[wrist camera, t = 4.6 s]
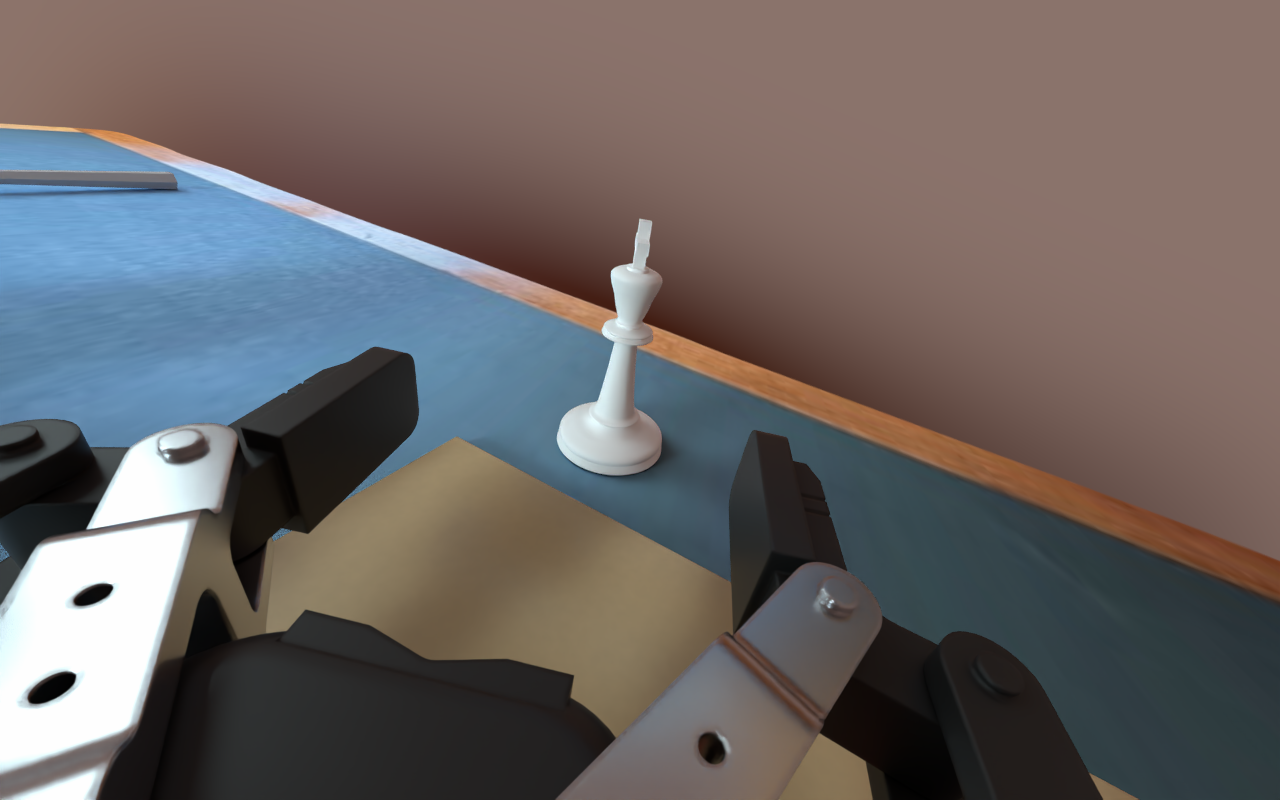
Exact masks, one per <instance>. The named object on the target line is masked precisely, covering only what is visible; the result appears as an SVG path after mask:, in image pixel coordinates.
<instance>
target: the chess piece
mask: <svg viewBox="0 0 1280 800" xmlns="http://www.w3.org/2000/svg"><path fill="white" fill-rule="evenodd" d="M651 227H652V221H650V220H644V219H640V221H639V227H638V233H636V239H635V253H634V259H633V264H628V265H620V266H618V267H616V268H614V269H613V270H612V272H611V281H612V286H613V289H614V294H615V304H616V308H617V314H618V317H617V318H616V319H611V320H608V321H607V322H605V324H604V326H603V328H602V333H603V335H604V336H605V337H606V338H608V339H610V340H611V341H614V342H615V343H614V347H613V350H612V354H611V358H610V362H609V366H608V369H607V373H606V376H605V380H604V383H603V386H602V390H601V393H600V396H599V399H598V401H596V402H592V403H586V404H583V405H580V406H577V407H575V408H573V409H572V410H570V411H569V412H568V413H566V414H565V416H564V417H563V418H562V420H561V423H560V428H559V430H558V434H557V443H558V446H559V448H560V450H561V451H562V453H563V454H564V455H565V456H566V457H567V458H568V459H569V460H570V461H571V462H573V463H574V464H576V465H578V466H580V467H582V468H584V469H586V470H589V471H592V472H595V473H599V474H605V475H630V474H635V473H638V472H641V471H644V470H646V469H648V468H649V467H651V466H652V465H653V464H654V463H655V462H656V461H657V460H658V458H659V457H660V454H661V443H662V435H661V431H660V429H659V427H658V425H657V424H656V423H655V422H654V421H653V420H652V419H651V418H650V417H649V416H648V415H646V414H645V413H643V412H642V411H640V410H638V409H636V408H635V407H634V383H635V364H636V353H637V346H640V345H646V344H648V343H650V342H651V341H652V340H653V335H652V334H653V332H652V329H651V328H650V327H649V326H647V325H646V324H644V323H643V322H642V320H643V318H644V317H645V315H646V313H647V312H648V310H649V307H650V305H651V303H652V301H653V299H654V298H655V296H656V295H657V293H658V291H659V289H660V287H661V285H662V282H663V281H662V277H661V276H660V275H659V274H658V273H657V272H656V271H654V270H651V269H650V268H649V267H647V266H645V262H646V257H648V254H649V248H650V243H649V239H650V233H651Z"/></svg>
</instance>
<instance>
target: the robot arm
mask: <svg viewBox="0 0 1280 800" xmlns="http://www.w3.org/2000/svg"><path fill="white" fill-rule="evenodd" d="M418 416H419V406H418V395H417V385H416V374H415V364H414V360H413V358H412V356H411V355H410V354H408V353H403V352H399V351H394V350H390V349H385V348H380V347H373V348H370V349H369V350H367V351H365V352H364V353H362V354H360V355H359V356H357V357H356V358H354V359H352V360H351V361H349V362H346V363H343V364H340V365H337V366H334V367H330V368H327V369H324V370H322V371H320V372H318V373H317V374H315V375H313V376H312V377H310V378H308V379H307V380H305V381H304V383H303V384H298V385H296V386H295V387H293V388H291V389H289V390H288V392H287V394H286V393H283V394H281V395H279V396H278V397H276V398H274V399H272V400H271V401H269V402H267V403H266V404H264V405H262V406H261V407H259V408H257V409H255V410H254V411H252V412H250V413H249V414H247V415H245V416H244V417H242V418H240V419H238V420H237V421H235V422H233V423H232V424H230V425H228V426H225V425H221V424H214V423H197V424H188V425H182V426H177V427H173V428H169V429H165V430H162V431H160V432H157V433H154V434H152V435H150V436H147V437H146V438H144V439H142V440H140V441H139V442H137V443H136V444H134V445H133V446H132V447H131V448H121V447H89V445H88V443H87V441H86V439H85V437H84V436H83V434H82V432H81V430H80V428H79V427H78V426H77V425H76V424H74V423H72V422H69V421H65V420H58V419H37V420H27V421H21V422H14V423H10V424H5V425H1V426H0V543H1V544H2V546H3V547H4V548H5V550H6V551H7V552H8V554H9V555H10V557H8V558H6V559H5V560H3V561H2V562H0V800H779V798H780V796H781V795H782V793H783V791H784V790H785V788H786V787H787V785H788V783H789V782H790V780H791V778H792V777H793V775H794V774H795V772H796V770H797V769H798V767H799V765H800V764H801V762H802V760H803V759H804V757H805V756H806V754H807V752H808V751H809V749H810V747H811V746H812V744H813V742H814V741H815V739H816V738H817V736H818V734H819V733H820V734H821V735H823V736H825V737H826V738H828V739H830V740H831V741H833V742H835V743H836V744H838V745H840V746H841V747H843V748H845V749H846V750H848V751H849V752H851V753H853V754H854V755H856V756H858V757H859V758H861V759H863V760H864V761H866V767H867V772H868V777H869V782H870V788H871V793H872V798H873V800H1103V798H1102V796H1101V794H1100V792H1099V791H1098V789H1097V787H1096V785H1095V783H1094V781H1093V779H1092V778H1091V776H1090V774H1089V772H1088V770H1087V768H1086V767H1085V765H1084V763H1083V761H1082V759H1081V757H1080V755H1079V754H1078V752H1077V750H1076V748H1075V746H1074V744H1073V742H1072V741H1071V739H1070V737H1069V735H1068V733H1067V731H1066V730H1065V728H1064V726H1063V724H1062V722H1061V720H1060V718H1059V717H1058V715H1057V713H1056V711H1055V709H1054V707H1053V706H1052V704H1051V702H1050V700H1049V698H1048V696H1047V694H1046V693H1045V691H1044V689H1043V688H1042V686H1041V684H1040V683H1039V682H1038V680H1037V679H1036V678H1035V676H1034V675H1033V674H1032V673H1031V672H1030V671H1029V670H1028V668H1027V667H1026V666H1025V665H1024V664H1022V663H1021V662H1020V661H1019V660H1018V659H1017V658H1016V657H1015V656H1013V655H1012V654H1011V653H1010V652H1008V651H1007V650H1006V649H1004V648H1003V647H1001V646H1000V645H998V644H996V643H994V642H993V641H991V640H989V639H987V638H985V637H982V636H980V635H977V634H974V633H969V632H961V631H958V632H952V633H950V634H948V635H947V636H946V637H944V638H943V640H942V641H941V642H940V643H939V644H938V645H937V644H935V643H933V642H931V641H929V640H927V639H925V638H923V637H921V636H919V635H917V634H915V633H913V632H911V631H909V630H907V629H905V628H903V627H901V626H899V625H897V624H895V623H893V622H891V621H890V620H888V619H886V618H885V617H884V616H882V613H881V610H880V606H879V604H878V602H877V600H876V599H875V597H874V596H873V594H872V593H871V592H870V590H869V589H868V588H867V587H866V586H865V585H864V584H863V583H862V582H861V581H860V580H859V579H857V578H856V577H855V576H853V575H852V574H850V573H849V572H847V569H846V565H845V562H844V559H843V555H842V552H841V549H840V545H839V542H838V539H837V536H836V532H835V529H834V526H833V522H832V519H831V517H829V515H830V512H829V509H828V506H827V502H825V496H824V492H823V489H822V486H821V482H820V480H819V479H818V478H817V477H816V475H815V474H814V473H813V472H812V471H811V469H810V468H809V467H808V466H807V464H804V463H799V462H795V461H793V459H792V455H791V450H790V446H789V442H788V439H787V437H784V436H779V435H775V434H770V433H765V432H761V431H756V430H753V431H752V432H751V434H750V436H749V439H748V442H747V444H746V447H745V450H744V453H743V456H742V459H741V462H740V464H739V467H738V470H737V473H736V476H735V479H734V482H733V485H732V489H731V494H730V500H729V529H730V559H731V590H732V620H733V635H731V634H730V633H729V632H724V633H723V634H721V635H720V636H719V637H717V638H716V639H715V640H714V641H713V642H712V643H711V644H710V645H709V646H708V647H707V648H706V649H705V650H704V651H703V652H702V653H701V654H700V655H699V656H698V657H697V658H696V659H695V660H694V661H693V662H692V663H691V664H690V665H689V666H688V667H687V668H686V669H685V670H684V671H683V672H682V673H681V674H680V675H679V676H678V677H677V678H676V679H675V680H674V681H673V682H672V683H671V684H670V685H669V686H668V687H667V688H666V689H665V690H664V691H663V692H662V693H661V694H660V695H659V696H658V697H657V698H656V699H655V700H654V701H653V702H652V703H651V704H650V705H649V706H648V707H647V708H646V709H645V710H644V711H643V712H642V713H641V714H640V715H639V716H638V717H637V718H636V719H635V720H634V721H633V722H632V723H631V724H630V725H629V726H628V727H627V728H626V729H625V730H624V731H623V732H622V733H621V734H620V735H619V736H618V737H617V738H616V737H615V736H614V734H613V733H612V732H611V730H610V729H609V728H608V727H607V726H606V725H605V724H604V723H603V722H602V721H601V720H600V719H599V718H598V717H597V716H596V715H595V714H594V713H593V712H591V711H590V710H589V709H588V708H586V707H585V706H584V705H582V704H581V703H579V702H577V701H576V700H574V699H572V698H571V692H572V686H573V680H574V675H572V674H568V673H564V672H560V671H555V670H551V669H547V668H543V667H539V666H535V665H531V664H527V663H523V662H519V661H515V660H511V659H467V660H430V659H426V658H424V657H422V656H420V655H418V654H417V653H415V652H413V651H412V650H410V649H409V648H407V647H405V646H404V645H402V644H400V643H399V642H397V641H395V640H394V639H392V638H391V637H389V636H387V635H386V634H384V633H382V632H381V631H379V630H377V629H376V628H374V627H372V626H371V625H368V624H363V623H359V622H355V621H351V620H347V619H343V618H339V617H335V616H331V615H327V614H323V613H318V612H314V611H310V610H306V609H305V611H304V612H303V613H302V614H301V615H300V616H299V617H298V619H297V620H296V621H295V622H294V623H293V624H292V625H291V627H290V628H289V629H288V630H287V631H281V632H273V633H266V622H267V613H268V604H269V595H270V586H271V577H272V568H273V559H274V550H275V547H274V542H273V539H272V536H273V535H274V534H275V533H276V532H277V531H278V530H279V529H281V528H284V529H288V530H292V531H297V532H301V533H305V534H309V533H310V532H311V531H312V530H313V529H314V528H315V527H316V526H317V525H318V524H319V523H320V522H321V521H323V520H324V519H325V518H326V517H327V516H328V515H329V514H330V513H331V512H332V511H333V510H334V509H335V508H336V507H337V506H338V505H339V504H340V503H341V502H342V501H343V500H344V499H345V498H346V497H347V496H348V495H349V494H350V493H351V492H352V491H353V490H355V489H356V488H357V487H358V486H359V485H360V484H361V483H362V482H363V481H364V480H365V479H366V478H367V477H368V476H369V475H370V474H371V473H372V472H373V471H374V470H375V469H376V468H377V467H378V466H379V465H380V464H381V463H382V462H383V461H384V460H385V459H386V458H388V457H389V456H390V455H391V454H392V453H393V452H394V451H395V450H396V449H397V448H398V447H399V446H400V445H401V444H402V443H403V442H404V441H405V440H406V439H407V438H408V437H409V436H410V435H411V434H412V432H413V431H414V429H415V427H416V424H417V421H418Z"/></svg>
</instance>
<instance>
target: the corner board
mask: <svg viewBox="0 0 1280 800" xmlns="http://www.w3.org/2000/svg"><path fill="white" fill-rule="evenodd" d="M274 547H275V550H274V559H273V568H272V577H271V586H270V595H269V604H268V613H267V622H266V633H273V632H281V631H287V630H288V629H289V628H290V627H291V625H292V624H293V623H294V622H295V621H296V620H297V619H298V617H299V616H300V615H301V614H302V613H303V612H304V611H305V609H306V610H310V611H314V612H318V613H323V614H327V615H331V616H335V617H339V618H343V619H347V620H351V621H355V622H359V623H363V624H368V625H371V626H372V627H374V628H376V629H377V630H379V631H381V632H382V633H384V634H386V635H387V636H389V637H391V638H392V639H394V640H395V641H397V642H399V643H400V644H402V645H404V646H405V647H407V648H409V649H410V650H412V651H413V652H415V653H417V654H418V655H420V656H422V657H424V658H426V659H430V660H467V659H511V660H515V661H519V662H523V663H527V664H531V665H535V666H539V667H543V668H547V669H551V670H555V671H560V672H564V673H568V674H572V675H574V680H573V686H572V692H571V698H572V699H574V700H576V701H577V702H579V703H581V704H582V705H584V706H585V707H586V708H588V709H589V710H590V711H591V712H593V713H594V714H595V715H596V716H597V717H598V718H599V719H600V720H601V721H602V722H603V723H604V724H605V725H606V726H607V727H608V728H609V729H610V730H611V732H612V733H613V734H614V736H615V737H616V738H617V737H618V736H619V735H620V734H621V733H622V732H623V731H624V730H625V729H626V728H627V727H628V726H629V725H630V724H631V723H632V722H633V721H634V720H635V719H636V718H637V717H638V716H639V715H640V714H641V713H642V712H643V711H644V710H645V709H646V708H647V707H648V706H649V705H650V704H651V703H652V702H653V701H654V700H655V699H656V698H657V697H658V696H659V695H660V694H661V693H662V692H663V691H664V690H665V689H666V688H667V687H668V686H669V685H670V684H671V683H672V682H673V681H674V680H675V679H676V678H677V677H678V676H679V675H680V674H681V673H682V672H683V671H684V670H685V669H686V668H687V667H688V666H689V665H690V664H691V663H692V662H693V661H694V660H695V659H696V658H697V657H698V656H699V655H700V654H701V653H702V652H703V651H704V650H705V649H706V648H707V647H708V646H709V645H710V644H711V643H712V642H713V641H714V640H715V639H716V638H717V637H719V636H720V635H721V634H723V633H724V632H729V633H730V634H731V635H733V620H732V590H731V582H729V581H728V580H726V579H724V578H722V577H720V576H718V575H716V574H714V573H713V572H711V571H709V570H707V569H705V568H703V567H701V566H699V565H698V564H696V563H694V562H692V561H690V560H688V559H686V558H684V557H683V556H681V555H679V554H677V553H675V552H673V551H671V550H669V549H667V548H666V547H664V546H662V545H660V544H658V543H656V542H654V541H652V540H651V539H649V538H647V537H645V536H643V535H641V534H639V533H637V532H636V531H634V530H632V529H630V528H628V527H626V526H624V525H622V524H620V523H619V522H617V521H615V520H613V519H611V518H609V517H607V516H605V515H604V514H602V513H600V512H598V511H596V510H594V509H592V508H590V507H589V506H587V505H585V504H583V503H581V502H579V501H577V500H575V499H574V498H572V497H570V496H568V495H566V494H564V493H562V492H560V491H558V490H557V489H555V488H553V487H551V486H549V485H547V484H545V483H543V482H542V481H540V480H538V479H536V478H534V477H532V476H530V475H528V474H527V473H525V472H523V471H521V470H519V469H517V468H515V467H513V466H511V465H510V464H508V463H506V462H504V461H502V460H500V459H498V458H496V457H495V456H493V455H491V454H489V453H487V452H485V451H483V450H481V449H480V448H478V447H476V446H474V445H472V444H470V443H468V442H466V441H465V440H463V439H461V438H459V437H455V438H453V439H451V440H450V441H448V442H446V443H444V444H443V445H441V446H439V447H438V448H436V449H434V450H432V451H431V452H429V453H427V454H425V455H424V456H422V457H420V458H418V459H417V460H415V461H413V462H411V463H410V464H408V465H406V466H404V467H403V468H401V469H399V470H397V471H396V472H394V473H392V474H390V475H389V476H387V477H385V478H383V479H382V480H380V481H378V482H376V483H375V484H373V485H371V486H370V487H368V488H366V489H364V490H363V491H361V492H359V493H357V494H356V495H354V496H352V497H350V498H349V499H347V500H345V501H343V502H342V503H340V504H339V505H338V506H337V507H336V508H335V509H334V510H333V511H332V512H331V513H330V514H329V515H328V516H327V517H326V518H325V519H324V520H323V521H321V522H320V523H319V524H318V525H317V526H316V527H315V528H314V529H313V530H312V531H311V532H310V533H309V534H305V533H301V532H297V531H291V532H289V533H288V534H286V535H284V536H282V537H281V538H279V539H277V540H275V541H274ZM1089 774H1090V773H1089ZM1090 776H1091V778H1092V779H1093V781H1094V783H1095V785H1096V787H1097V789H1098V791H1099V792H1100V794H1101V796H1102V798H1103V800H1139V799H1137V798H1135V797H1134V796H1132V795H1130V794H1128V793H1126V792H1124V791H1122V790H1120V789H1118V788H1117V787H1115V786H1113V785H1111V784H1109V783H1107V782H1105V781H1103V780H1102V779H1100V778H1098V777H1096V776H1094V775H1092V774H1090ZM779 800H873V798H872V793H871V788H870V782H869V777H868V772H867V767H866V761H864V760H863V759H861V758H859V757H858V756H856V755H854V754H853V753H851V752H849V751H848V750H846V749H845V748H843V747H841V746H840V745H838V744H836V743H835V742H833V741H831V740H830V739H828V738H826V737H825V736H823V735H821V734H820V733H819V734H818V736H817V738H816V739H815V741H814V742H813V744H812V746H811V747H810V749H809V751H808V752H807V754H806V756H805V757H804V759H803V760H802V762H801V764H800V765H799V767H798V769H797V770H796V772H795V774H794V775H793V777H792V778H791V780H790V782H789V783H788V785H787V787H786V788H785V790H784V791H783V793H782V795H781V796H780V798H779Z"/></svg>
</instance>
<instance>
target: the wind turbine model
mask: <svg viewBox="0 0 1280 800" xmlns="http://www.w3.org/2000/svg"><path fill="white" fill-rule="evenodd" d="M0 184H14V185H48V186H81V187H115V188H148V189H177V181H176V179H175V177H174V175H173V174H172V173H170V172H131V171H54V170H0Z"/></svg>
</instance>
